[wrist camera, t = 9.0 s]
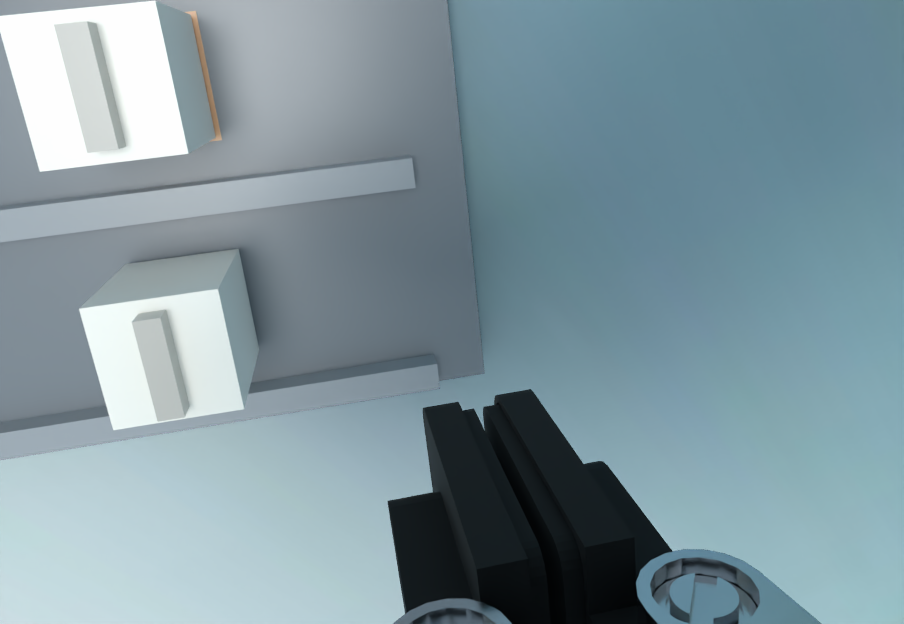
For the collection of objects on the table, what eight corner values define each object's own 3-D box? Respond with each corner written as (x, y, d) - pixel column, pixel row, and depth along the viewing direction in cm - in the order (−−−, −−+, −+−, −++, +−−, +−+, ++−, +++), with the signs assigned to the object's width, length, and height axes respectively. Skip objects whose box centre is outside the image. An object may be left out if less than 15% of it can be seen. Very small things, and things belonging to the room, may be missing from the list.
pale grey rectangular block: (238, 248, 20) (213, 296, 16) (259, 349, 21) (241, 420, 17) (126, 263, 20) (70, 317, 16) (152, 366, 21) (106, 442, 17)
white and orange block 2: (190, 14, 18) (147, -3, 14) (216, 137, 19) (183, 156, 15) (64, 27, 18) (-19, 13, 14) (97, 152, 19) (28, 175, 15)
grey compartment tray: (402, -355, 18) (415, -433, 15) (475, 356, 24) (494, 393, 22) (-516, -312, 16) (-696, -393, 13) (-181, 460, 22) (-255, 516, 19)
